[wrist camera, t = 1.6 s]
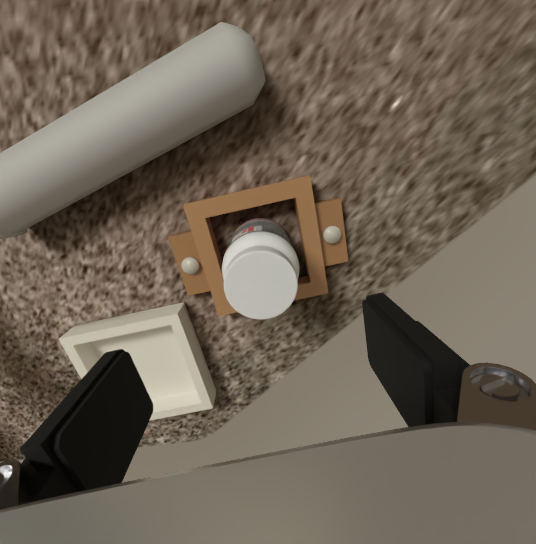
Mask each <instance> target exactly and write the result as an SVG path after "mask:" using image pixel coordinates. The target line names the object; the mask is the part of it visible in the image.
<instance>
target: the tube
mask: <svg viewBox="0 0 536 544" xmlns="http://www.w3.org/2000/svg"><path fill="white" fill-rule="evenodd" d="M265 81H266V79H265V74H264V69H263V64H262V59H261V55H260V53H259V51H258V49H257V47H256V45H255V43H254V41H253V40H252V38H251V36H250V35H248V34H247V33H246V32H245V31H243V30H242V29H241V28H240V27H237V26H234V25H230V24H227V23H223V22H220V23H219V24H217V25H215V26H214V27H212V28H210V29H209V30H207V31H205V32H204V33H202V34H200V35H199V36H197V37H195V38H193V39H192V40H190V41H188V42H187V43H185V44H183V45H182V46H180V47H178V48H177V49H175V50H173V51H172V52H170V53H168V54H167V55H165V56H163V57H161V58H160V59H158V60H156V61H155V62H153V63H151V64H150V65H148V66H146V67H145V68H143V69H141V70H140V71H138V72H136V73H135V74H133V75H131V76H129V77H128V78H126V79H124V80H123V81H121V82H119V83H118V84H116V85H114V86H113V87H111V88H109V89H108V90H106V91H104V92H103V93H101V94H99V95H97V96H96V97H94V98H92V99H91V100H89V101H87V102H86V103H84V104H82V105H81V106H79V107H77V108H76V109H74V110H72V111H71V112H69V113H67V114H65V115H64V116H62V117H60V118H59V119H57V120H55V121H54V122H52V123H50V124H49V125H47V126H45V127H44V128H42V129H40V130H39V131H37V132H35V133H34V134H32V135H30V136H28V137H27V138H25V139H23V140H22V141H20V142H18V143H17V144H15V145H13V146H12V147H10V148H8V149H7V150H5V151H3V152H2V153H0V239H5V238H9V237H14V236H18V235H23V234H25V233H26V232H27V229H28V228H29V227H31V226H33V225H35V224H36V223H38V222H40V221H42V220H44V219H46V218H47V217H49V216H51V215H53V214H55V213H56V212H58V211H60V210H62V209H64V208H66V207H67V206H69V205H71V204H73V203H75V202H77V201H78V200H80V199H82V198H84V197H86V196H88V195H89V194H91V193H93V192H95V191H97V190H99V189H100V188H102V187H104V186H106V185H108V184H110V183H111V182H113V181H115V180H117V179H119V178H120V177H122V176H124V175H126V174H128V173H130V172H131V171H133V170H135V169H137V168H139V167H141V166H142V165H144V164H146V163H148V162H150V161H152V160H153V159H155V158H157V157H159V156H161V155H163V154H164V153H166V152H168V151H170V150H172V149H173V148H175V147H177V146H179V145H181V144H183V143H184V142H186V141H188V140H190V139H192V138H194V137H195V136H197V135H199V134H201V133H203V132H205V131H206V130H208V129H210V128H212V127H214V126H216V125H217V124H219V123H221V122H223V121H225V120H226V119H228V118H230V117H232V116H234V115H236V114H237V113H239V112H241V111H243V110H245V109H247V108H248V107H250V106H252V105H254V103H255V101H256V99H257V97H258V95H259V93H260V91H261V89H262V87H263V85H264V83H265Z"/></svg>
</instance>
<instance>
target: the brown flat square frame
mask: <svg viewBox="0 0 536 544" xmlns="http://www.w3.org/2000/svg"><path fill="white" fill-rule="evenodd" d="M292 198H294V203H295V209H296V215H297V220H298V226H299V231H300V237H301V243H302V248H303V254H304V259H305V265H306V271H307V276H305V277H301V278H298V289H297V294H296V297H295V299H294V300H299V299H304V298H309V297H313V296H318V295H323V294H328V288H327V281H326V275H325V268H324V267H325V266H329V265H334V264H339V263H343V262H348V254H347V246H346V237H345V229H344V221H343V212H342V204H341V198H334V199H329V200H325V201H320V202H316V203H314V197H313V190H312V184H311V177H310V175H308V176H303V177H298V178H294V179H290V180H285V181H281V182H277V183H272V184H268V185H264V186H259V187H255V188H250V189H246V190H242V191H237V192H233V193H229V194H224V195H220V196H216V197H211V198H207V199H203V200H198V201H194V202H190V203H186V204H183V206H184V210H185V213H186V216H187V219H188V222H189V225H190V228H191V231H187V232H183V233H178V234H174V235H171V236H169V237H168V239H169V242H170V245H171V248H172V251H173V254H174V256H175V259H176V262H177V265H178V268H179V271H180V273H181V276H182V279H183V282H184V285H185V288H186V291H187V293H188V296H189V295H194V294H199V293H203V292H208V291H211V294H212V297H213V301H214V304H215V307H216V310H217V313H218V316H223V315H227V314H232V313H237V311H236V310H235V309H234V308H233V307H232V306H231V305H230V303H229V302H228V300H227V298H226V295H225V292H224V280H223V276H222V263H223V262H222V259H221V255H220V252H219V248H218V245H217V242H216V238H215V235H214V231H213V228H212V224H211V221H210V217H212V216H217V215H221V214H226V213H230V212H234V211H239V210H243V209H248V208H252V207H256V206H261V205H265V204H270V203H274V202H278V201H283V200H287V199H292Z"/></svg>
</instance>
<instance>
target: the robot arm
mask: <svg viewBox="0 0 536 544" xmlns="http://www.w3.org/2000/svg"><path fill="white" fill-rule="evenodd" d="M362 306H363V315H364V324H365V333H366V342H367V351H368V359H369V362H370V365H371V367H372V369H373V371H374V372H375V374H376V375H377V377H378V379H379V380H380V382H381V383H382V385H383V387H384V388H385V390H386V392H387V393H388V395H389V396H390V398H391V400H392V401H393V403H394V404H395V406H396V408H397V409H398V411H399V412H400V414H401V416H402V417H403V419H404V420H405V422H406V424H407V425H408V427H406V428H400V429H394V430H388V431H383V432H377V433H372V434H366V435H361V436H355V437H349V438H344V439H339V440H334V441H329V442H323V443H318V444H313V445H308V446H303V447H298V448H293V449H287V450H283V451H277V452H272V453H267V454H262V455H257V456H252V457H247V458H242V459H237V460H232V461H227V462H222V463H217V464H212V465H207V466H202V467H197V468H192V469H187V470H182V471H177V472H173V473H167V474H163V475H157V476H153V477H148V478H143V479H138V480H134V481H128V482H124V483H122V480H123V478H124V476H125V474H126V472H127V469H128V467H129V465H130V462H131V460H132V458H133V456H134V454H135V451H136V449H137V447H138V445H139V442H140V440H141V438H142V436H143V434H144V431H145V429H146V427H147V425H148V422H149V420H150V418H151V416H152V413H153V403H152V400H151V398H150V396H149V394H148V392H147V390H146V387H145V385H144V383H143V381H142V379H141V377H140V375H139V373H138V370H137V368H136V366H135V364H134V362H133V360H132V358H131V355H130V354H129V353H128V352H125V351H124V350H123V349H119V350H114V351H109V352H106V353H104V354H103V356H102V357H101V358H100V359H99V360H98V361H97V362H96V363H95V365H94V366H93V367H92V368H91V369H90V370H89V371H88V372H87V374H86V375H85V376H84V377H83V378H82V379H81V380H80V382H79V383H78V384H77V385H76V386H75V387H74V388H73V389H72V391H71V392H70V393H69V394H68V395H67V396H66V397H65V399H64V400H63V401H62V402H61V403H60V404H59V405H58V406H57V408H56V409H55V410H54V411H53V412H52V413H51V414H50V415H49V417H48V418H47V419H46V420H45V421H44V422H43V423H42V425H41V426H40V427H39V428H38V429H37V430H36V431H35V432H34V434H33V435H32V436H31V437H30V438H29V439H28V440H27V442H26V443H25V444H24V445H23V446H22V447H21V448H20V450H21V451H22V453H23V454H24V455H25V457H26V459H25V460H24V461H23V462H22V463H21V464H20V462H19V461H17V460H15V459H13V460H7V461H4V462H1V463H0V544H536V384H535V383H534V382H533V380H532V379H531V378H529V377H528V376H526V375H524V374H523V373H521V372H519V371H517V370H514V369H512V368H510V367H507V366H503V365H499V364H492V363H477V364H473V365H469V364H468V363H467V362H466V361H465V360H463V359H462V358H461V357H460V356H459V355H457V354H456V353H455V352H454V351H453V350H452V349H450V348H449V347H448V346H447V345H446V344H445V343H443V342H442V341H441V340H440V339H439V338H438V337H436V336H435V335H434V334H433V333H432V332H430V331H429V330H428V329H427V328H426V327H425V326H423V325H422V324H421V323H420V322H418V321H415V320H413V319H412V318H411V317H410V316H409V315H408V314H407V313H405V312H404V311H403V310H402V309H401V308H400V307H399V306H397V305H396V304H395V303H394V302H393V301H392V300H391V299H389V298H388V297H387V296H386V295H385V294H384V293H378V294H373V295H369V296H367V298H366V300H363V302H362Z"/></svg>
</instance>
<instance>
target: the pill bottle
mask: <svg viewBox="0 0 536 544" xmlns="http://www.w3.org/2000/svg"><path fill="white" fill-rule="evenodd" d="M222 276H223V280H224V292H225V295H226V298H227V300H228V302H229V303H230V305H231V306H232V307H233V308H234V309H235V310H236V311H237V312H238V313H240V314H242V315H244V316H246V317H249V318H252V319H269V318H273V317H275V316H278V315H280V314H281V313H283V312H284V311H285V310H287V309H288V308H289V307H290V305H291V304H292V302H293V301H294V299H295V297H296V294H297V289H298V277H299V261H298V258H297V255H296V253H295V250H294V248H293V246H292V244H291V242H290V240H289V238H288V236H287V234H286V232H285V231H284V229H283V228H282V227H281V226H280V225H279V224H277V223H276V222H274V221H272V220H269V219H264V218H256V219H252V220H249V221H247V222H245V223H243V224H242V225H241V226H239V227H238V228H237V230H236V231H235V233H234V234H233V236H232V239H231V241H230V243H229V246H228V248H227V250H226V252H225V254H224V258H223V263H222Z"/></svg>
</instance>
